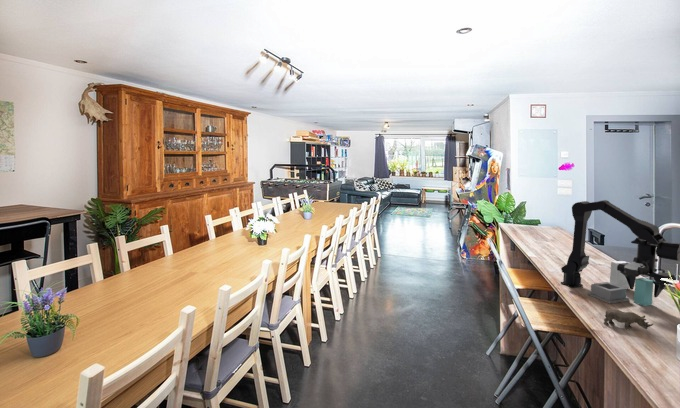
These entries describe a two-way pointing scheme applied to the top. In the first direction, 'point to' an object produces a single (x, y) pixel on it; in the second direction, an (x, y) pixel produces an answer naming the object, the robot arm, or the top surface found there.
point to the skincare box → (618, 275)
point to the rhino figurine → (625, 318)
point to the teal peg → (643, 291)
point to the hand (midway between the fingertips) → (643, 293)
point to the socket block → (608, 292)
